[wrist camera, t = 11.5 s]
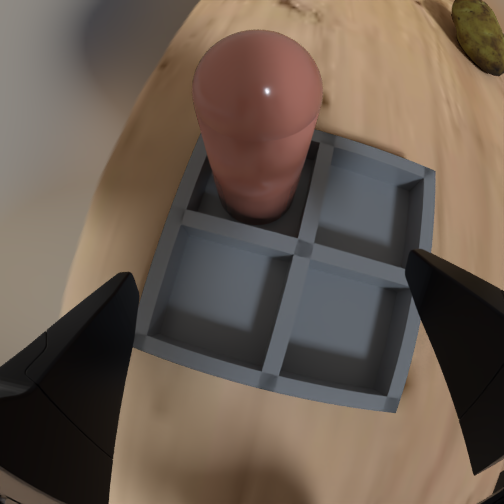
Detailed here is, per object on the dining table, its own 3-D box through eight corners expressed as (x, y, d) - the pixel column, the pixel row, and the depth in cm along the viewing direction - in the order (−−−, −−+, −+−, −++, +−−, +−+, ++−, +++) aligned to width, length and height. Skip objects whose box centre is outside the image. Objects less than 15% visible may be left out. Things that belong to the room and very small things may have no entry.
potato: (452, 60, 26) (477, 19, 18) (439, 15, 29) (456, -19, 21) (500, 88, 26) (528, 54, 18) (482, 39, 28) (501, 8, 21)
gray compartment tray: (378, 402, 19) (395, 413, 16) (144, 342, 20) (127, 345, 17) (418, 186, 22) (435, 171, 19) (216, 130, 23) (212, 107, 20)
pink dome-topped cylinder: (308, 202, 21) (365, 68, 9) (241, 239, 21) (222, 119, 8) (269, 145, 22) (280, -3, 10) (205, 176, 22) (160, 34, 9)
